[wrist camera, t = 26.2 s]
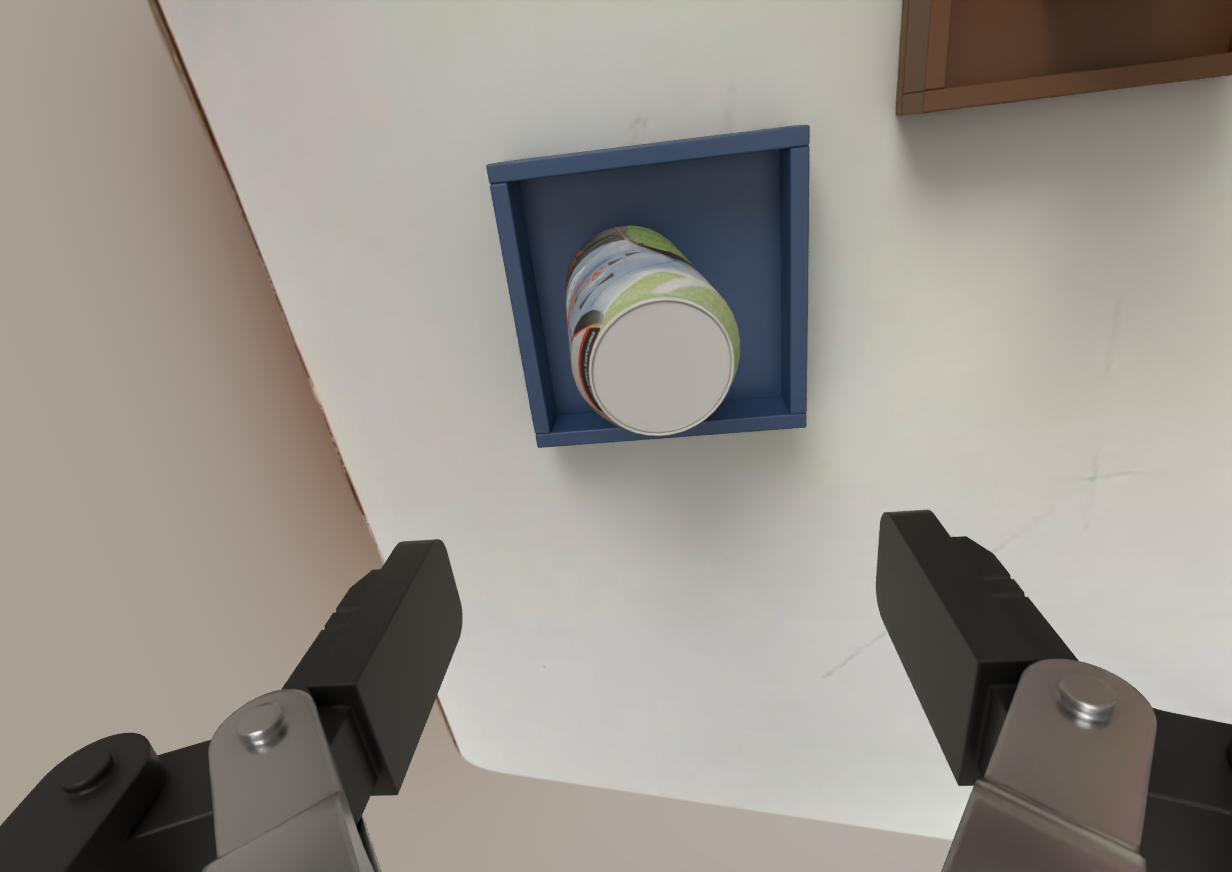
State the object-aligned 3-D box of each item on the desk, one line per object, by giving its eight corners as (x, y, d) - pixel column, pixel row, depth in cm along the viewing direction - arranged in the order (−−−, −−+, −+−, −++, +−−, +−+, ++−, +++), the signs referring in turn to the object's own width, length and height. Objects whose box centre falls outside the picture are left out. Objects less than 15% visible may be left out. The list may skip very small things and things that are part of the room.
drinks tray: (502, 161, 30) (485, 164, 28) (794, 125, 29) (810, 124, 26) (547, 422, 36) (537, 448, 33) (793, 402, 35) (806, 428, 32)
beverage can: (568, 220, 31) (519, 266, 20) (723, 225, 30) (759, 275, 19) (569, 346, 33) (526, 449, 22) (711, 352, 33) (737, 459, 22)
